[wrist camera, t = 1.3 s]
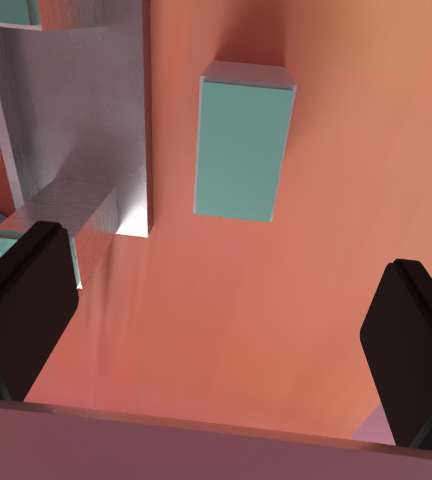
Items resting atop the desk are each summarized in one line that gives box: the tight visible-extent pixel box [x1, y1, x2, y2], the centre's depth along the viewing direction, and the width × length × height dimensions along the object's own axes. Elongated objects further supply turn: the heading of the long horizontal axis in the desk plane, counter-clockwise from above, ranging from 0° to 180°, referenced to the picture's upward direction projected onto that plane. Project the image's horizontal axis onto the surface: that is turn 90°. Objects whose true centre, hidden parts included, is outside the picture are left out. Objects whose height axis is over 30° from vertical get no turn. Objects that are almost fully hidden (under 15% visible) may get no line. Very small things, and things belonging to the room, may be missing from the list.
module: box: [193, 60, 297, 222], centre depth 24 cm, size 5×8×8 cm, turn 175°
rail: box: [0, 0, 153, 288], centre depth 23 cm, size 10×20×11 cm, turn 176°
